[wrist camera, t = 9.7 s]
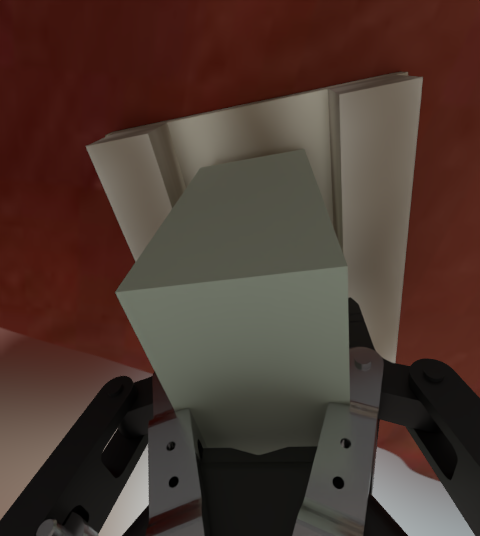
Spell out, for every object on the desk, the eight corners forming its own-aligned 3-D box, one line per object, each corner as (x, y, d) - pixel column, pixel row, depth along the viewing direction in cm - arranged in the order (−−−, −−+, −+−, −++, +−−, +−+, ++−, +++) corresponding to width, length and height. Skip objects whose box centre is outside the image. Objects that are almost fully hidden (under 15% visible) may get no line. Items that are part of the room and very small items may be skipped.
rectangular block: (245, 342, 22) (228, 517, 13) (200, 167, 15) (114, 292, 7) (320, 336, 21) (352, 520, 12) (304, 148, 15) (347, 265, 6)
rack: (191, 337, 26) (179, 378, 23) (112, 131, 18) (75, 148, 14) (384, 322, 23) (403, 365, 20) (400, 71, 15) (437, 74, 12)
